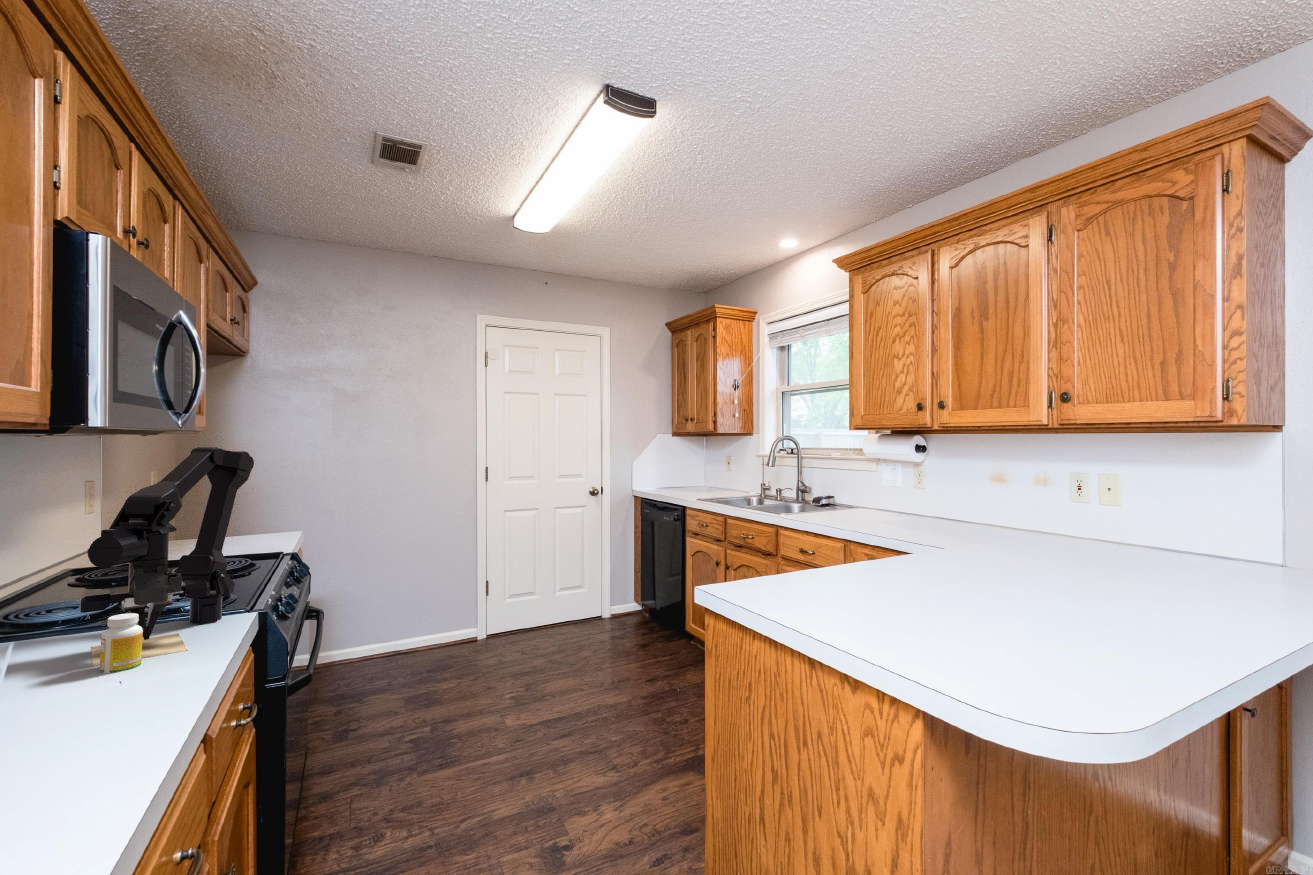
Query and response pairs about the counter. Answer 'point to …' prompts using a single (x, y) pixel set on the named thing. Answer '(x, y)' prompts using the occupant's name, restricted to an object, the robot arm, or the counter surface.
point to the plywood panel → (150, 647)
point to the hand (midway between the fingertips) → (146, 639)
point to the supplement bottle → (121, 644)
